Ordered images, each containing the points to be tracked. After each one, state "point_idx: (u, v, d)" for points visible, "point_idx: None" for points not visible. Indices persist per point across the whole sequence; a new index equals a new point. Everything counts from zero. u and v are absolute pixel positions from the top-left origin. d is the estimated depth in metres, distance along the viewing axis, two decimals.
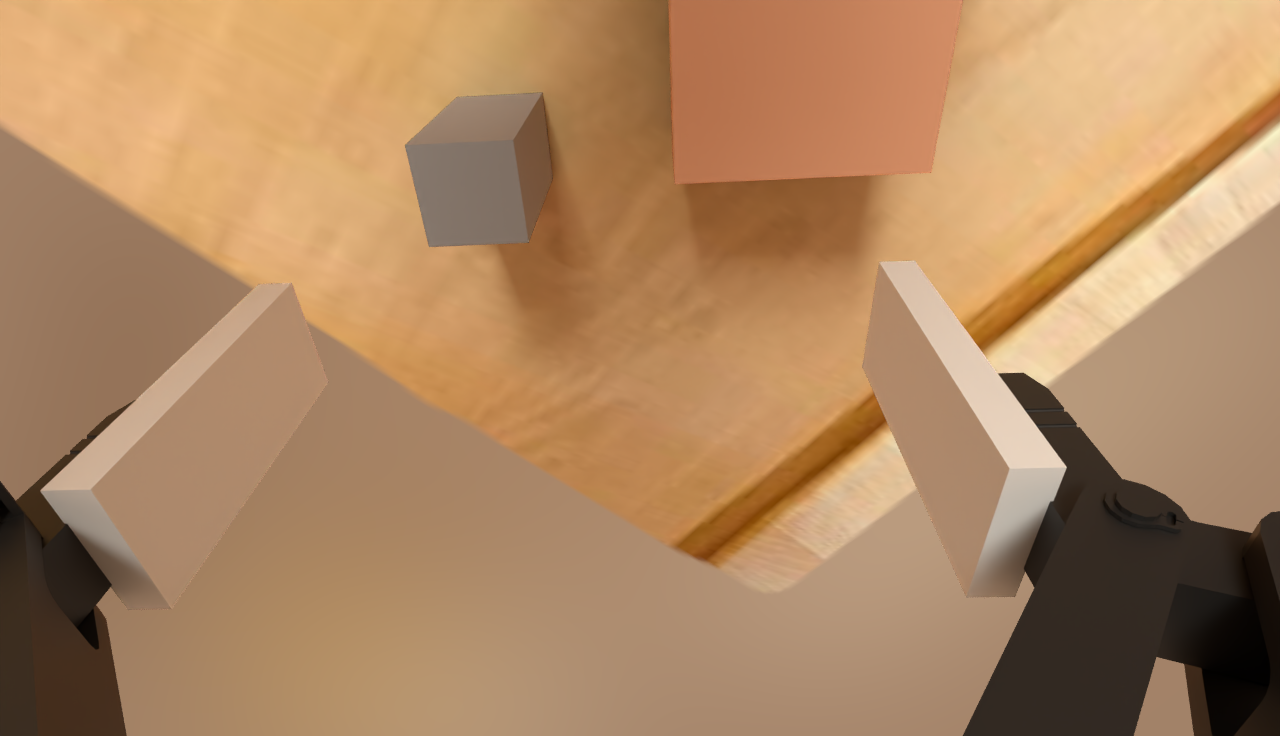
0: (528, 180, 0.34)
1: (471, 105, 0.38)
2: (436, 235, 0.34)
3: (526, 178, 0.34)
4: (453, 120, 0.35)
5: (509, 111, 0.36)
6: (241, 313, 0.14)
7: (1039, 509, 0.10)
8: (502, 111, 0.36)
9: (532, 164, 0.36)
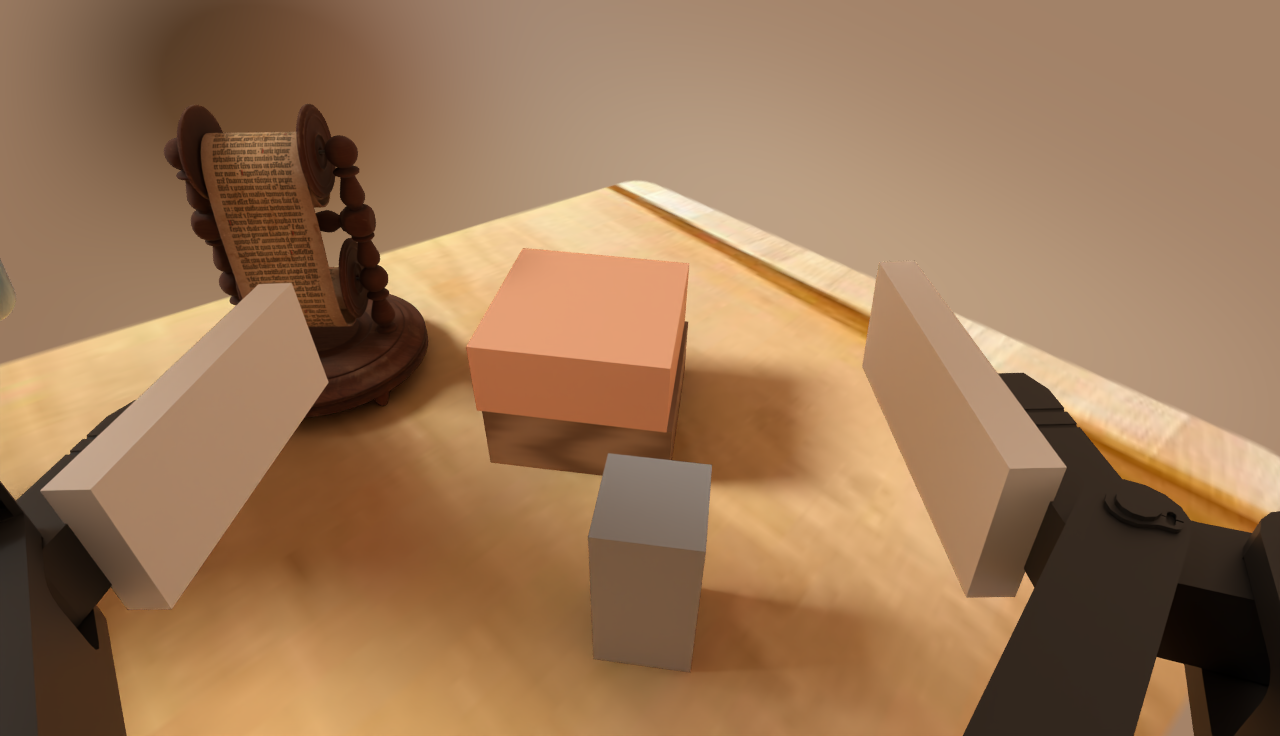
0: None
1: None
2: (692, 540, 0.29)
3: None
4: None
5: None
6: (241, 313, 0.14)
7: (1039, 509, 0.10)
8: None
9: None
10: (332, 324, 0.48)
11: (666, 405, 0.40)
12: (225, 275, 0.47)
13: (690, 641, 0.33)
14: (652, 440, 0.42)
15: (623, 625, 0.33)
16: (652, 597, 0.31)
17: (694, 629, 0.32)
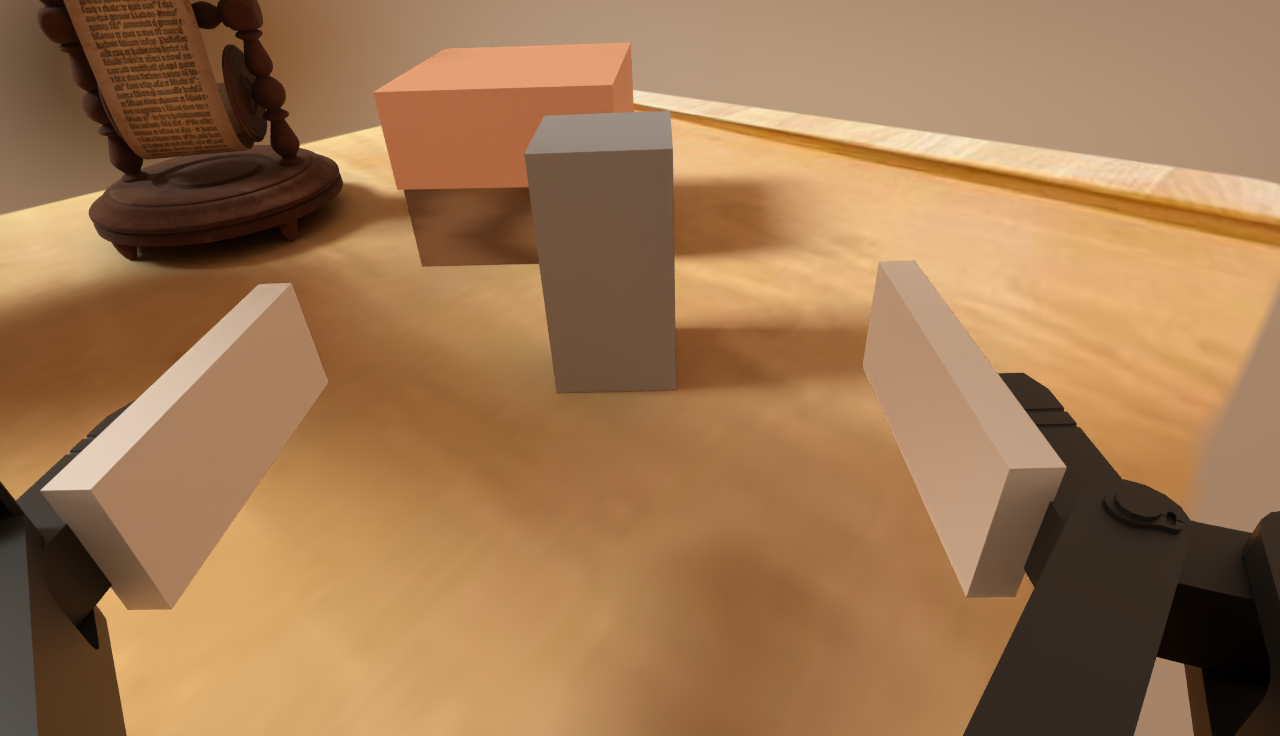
0: None
1: None
2: (655, 145, 0.23)
3: None
4: None
5: None
6: (241, 313, 0.14)
7: (1039, 509, 0.10)
8: None
9: None
10: (222, 143, 0.41)
11: None
12: (88, 94, 0.40)
13: (671, 330, 0.27)
14: None
15: (586, 318, 0.27)
16: (616, 254, 0.25)
17: (673, 305, 0.26)
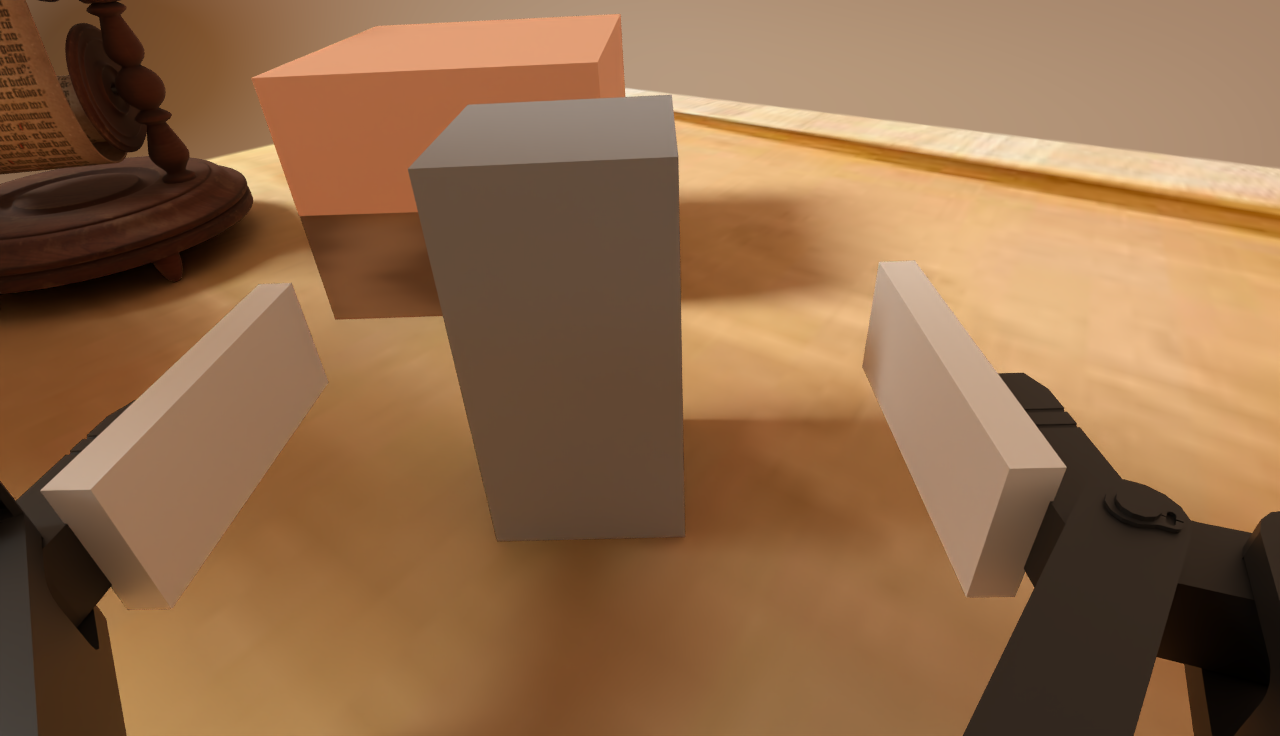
0: None
1: None
2: (646, 150, 0.13)
3: None
4: None
5: None
6: (242, 313, 0.14)
7: (1039, 509, 0.10)
8: None
9: None
10: (74, 153, 0.31)
11: None
12: None
13: (676, 453, 0.16)
14: None
15: (537, 436, 0.16)
16: (583, 338, 0.15)
17: (680, 416, 0.16)
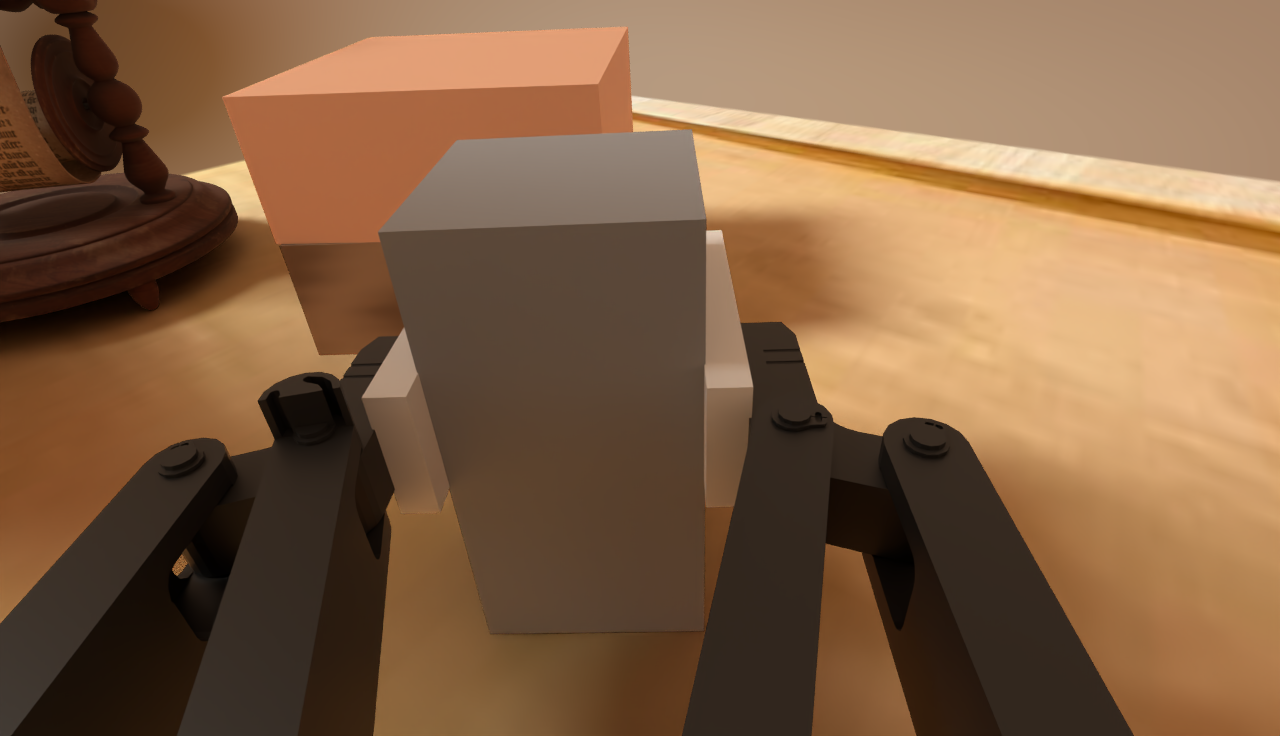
0: None
1: None
2: (666, 208, 0.11)
3: None
4: None
5: None
6: None
7: (741, 424, 0.11)
8: None
9: None
10: (42, 174, 0.29)
11: None
12: None
13: (696, 544, 0.14)
14: None
15: (535, 526, 0.14)
16: (589, 421, 0.12)
17: (701, 506, 0.14)
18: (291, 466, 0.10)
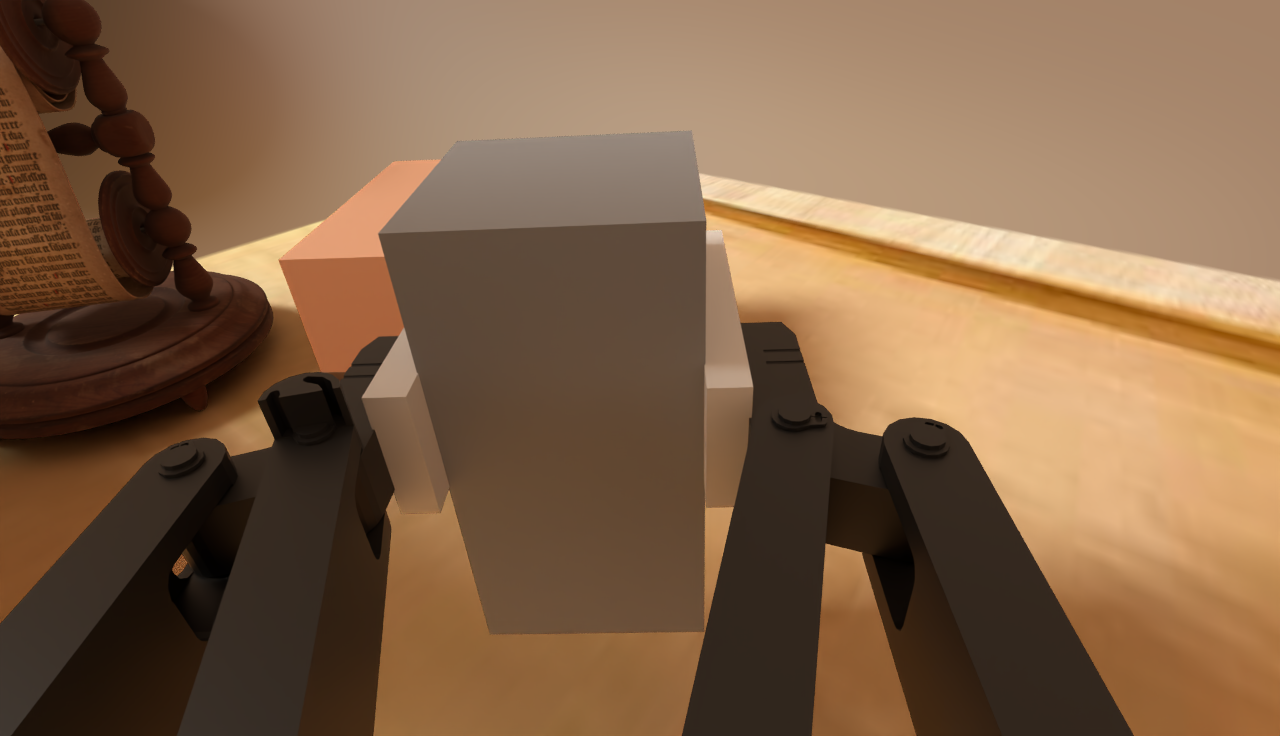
0: None
1: None
2: (666, 210, 0.11)
3: None
4: None
5: None
6: None
7: (741, 425, 0.11)
8: None
9: None
10: (105, 295, 0.33)
11: None
12: None
13: (696, 545, 0.14)
14: None
15: (536, 527, 0.14)
16: (589, 423, 0.12)
17: (701, 507, 0.14)
18: (291, 466, 0.10)
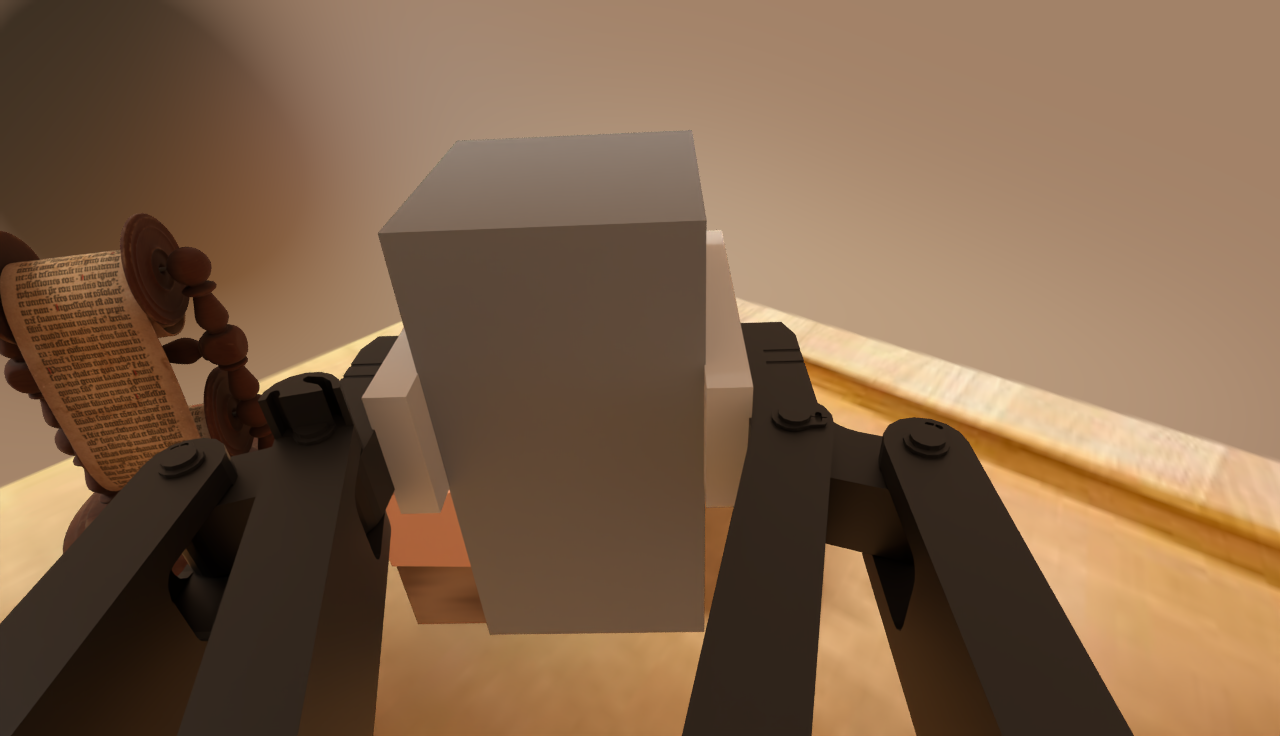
0: None
1: None
2: (667, 209, 0.11)
3: None
4: None
5: None
6: None
7: (741, 424, 0.11)
8: None
9: None
10: None
11: None
12: (62, 432, 0.38)
13: (696, 545, 0.14)
14: None
15: (535, 527, 0.14)
16: (589, 423, 0.12)
17: (701, 507, 0.14)
18: (291, 466, 0.10)
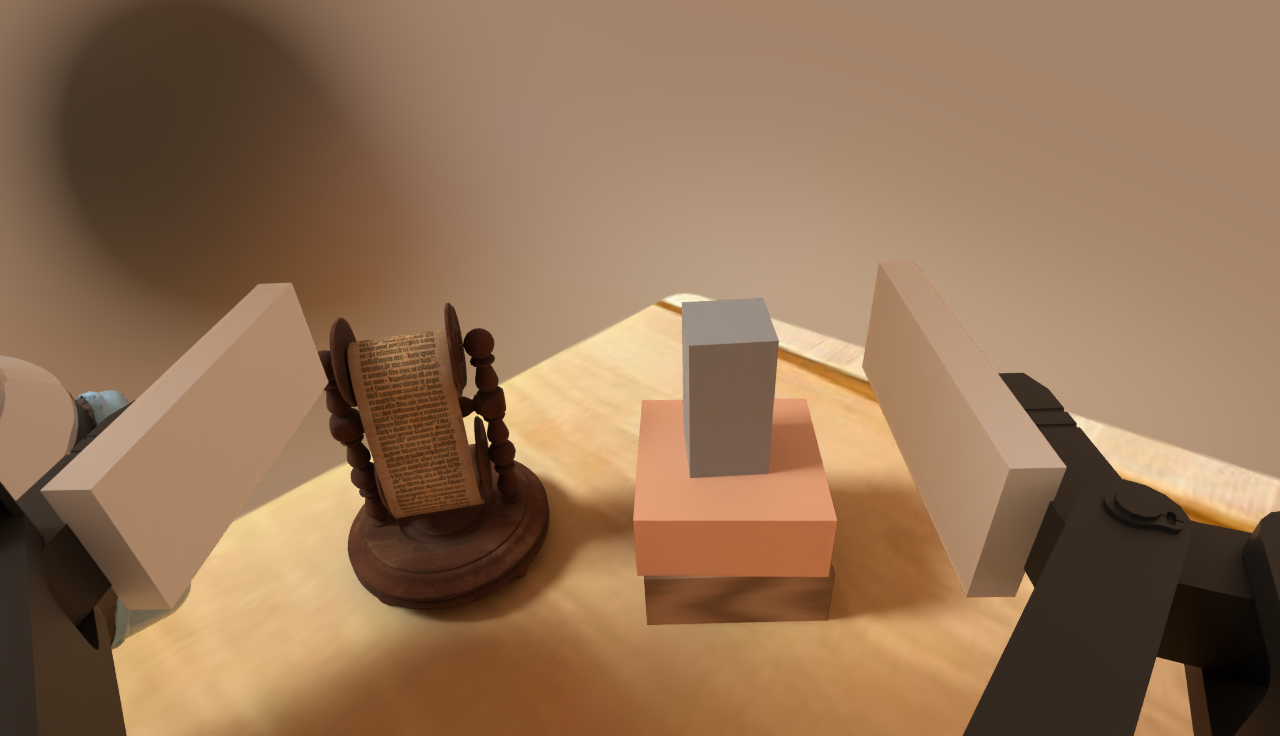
0: None
1: (687, 434, 0.43)
2: (766, 336, 0.38)
3: None
4: (687, 395, 0.41)
5: (684, 387, 0.44)
6: (241, 313, 0.14)
7: (1039, 509, 0.10)
8: (684, 392, 0.44)
9: None
10: (468, 505, 0.48)
11: (830, 553, 0.42)
12: (358, 471, 0.47)
13: (768, 439, 0.42)
14: (815, 584, 0.43)
15: (715, 434, 0.42)
16: (738, 397, 0.40)
17: (771, 424, 0.41)
18: None
